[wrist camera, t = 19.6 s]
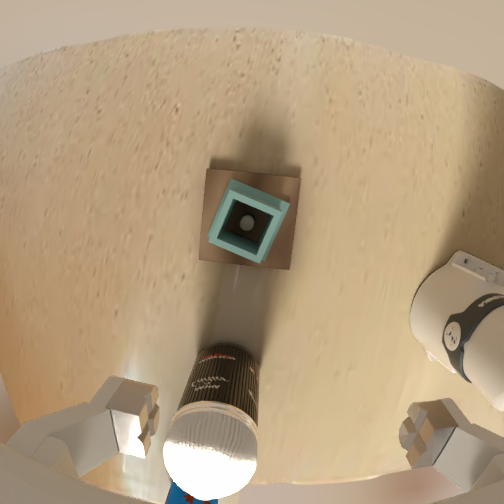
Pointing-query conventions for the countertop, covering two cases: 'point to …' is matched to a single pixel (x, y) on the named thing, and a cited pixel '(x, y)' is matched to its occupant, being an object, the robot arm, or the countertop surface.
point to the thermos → (184, 497)
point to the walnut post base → (262, 217)
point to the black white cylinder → (216, 424)
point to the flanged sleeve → (238, 242)
